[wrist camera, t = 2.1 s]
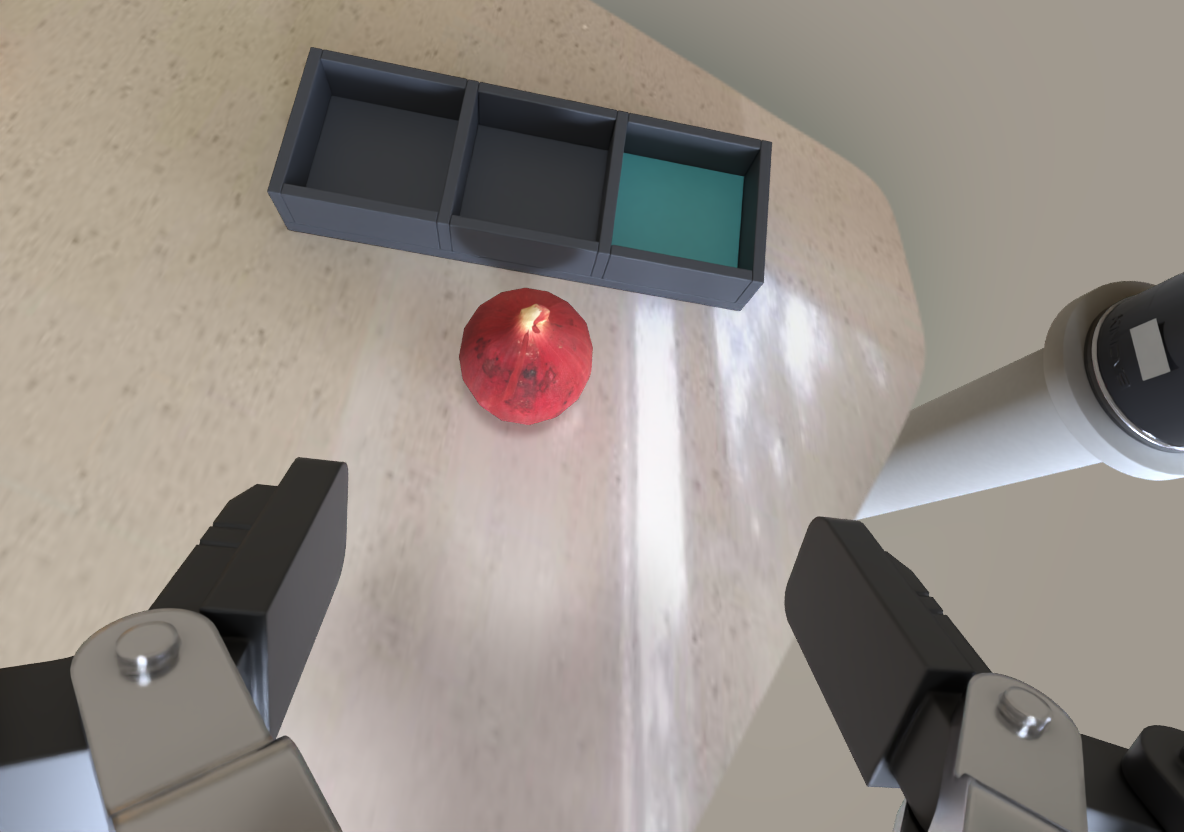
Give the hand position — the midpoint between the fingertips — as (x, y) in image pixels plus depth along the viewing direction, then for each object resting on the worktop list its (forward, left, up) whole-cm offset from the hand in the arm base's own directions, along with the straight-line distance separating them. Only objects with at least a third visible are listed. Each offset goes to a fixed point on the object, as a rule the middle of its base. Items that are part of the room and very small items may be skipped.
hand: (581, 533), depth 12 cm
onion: (+2, -9, -20) cm, 22 cm away
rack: (+3, -19, -20) cm, 28 cm away
